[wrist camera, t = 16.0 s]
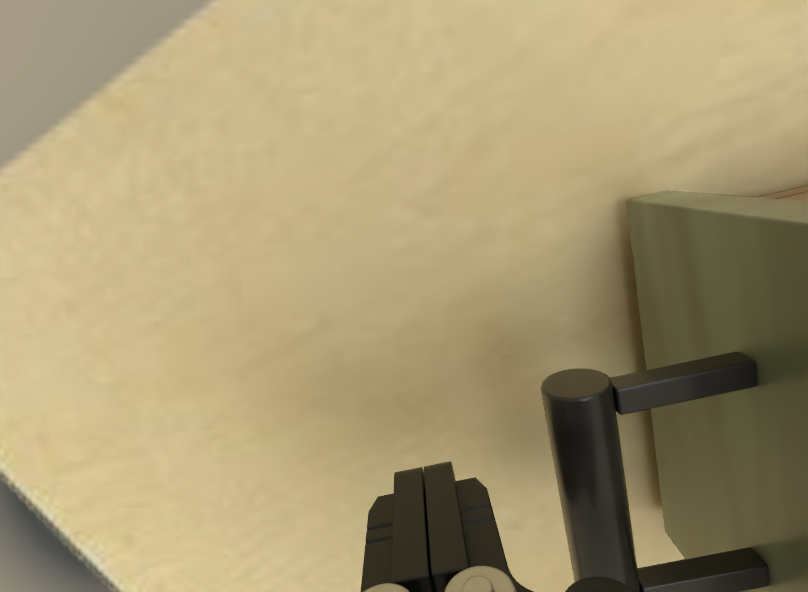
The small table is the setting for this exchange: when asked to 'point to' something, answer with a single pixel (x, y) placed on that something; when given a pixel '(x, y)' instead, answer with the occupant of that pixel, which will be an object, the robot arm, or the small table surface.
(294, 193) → the small table surface
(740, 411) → the drawer
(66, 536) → the small table surface
